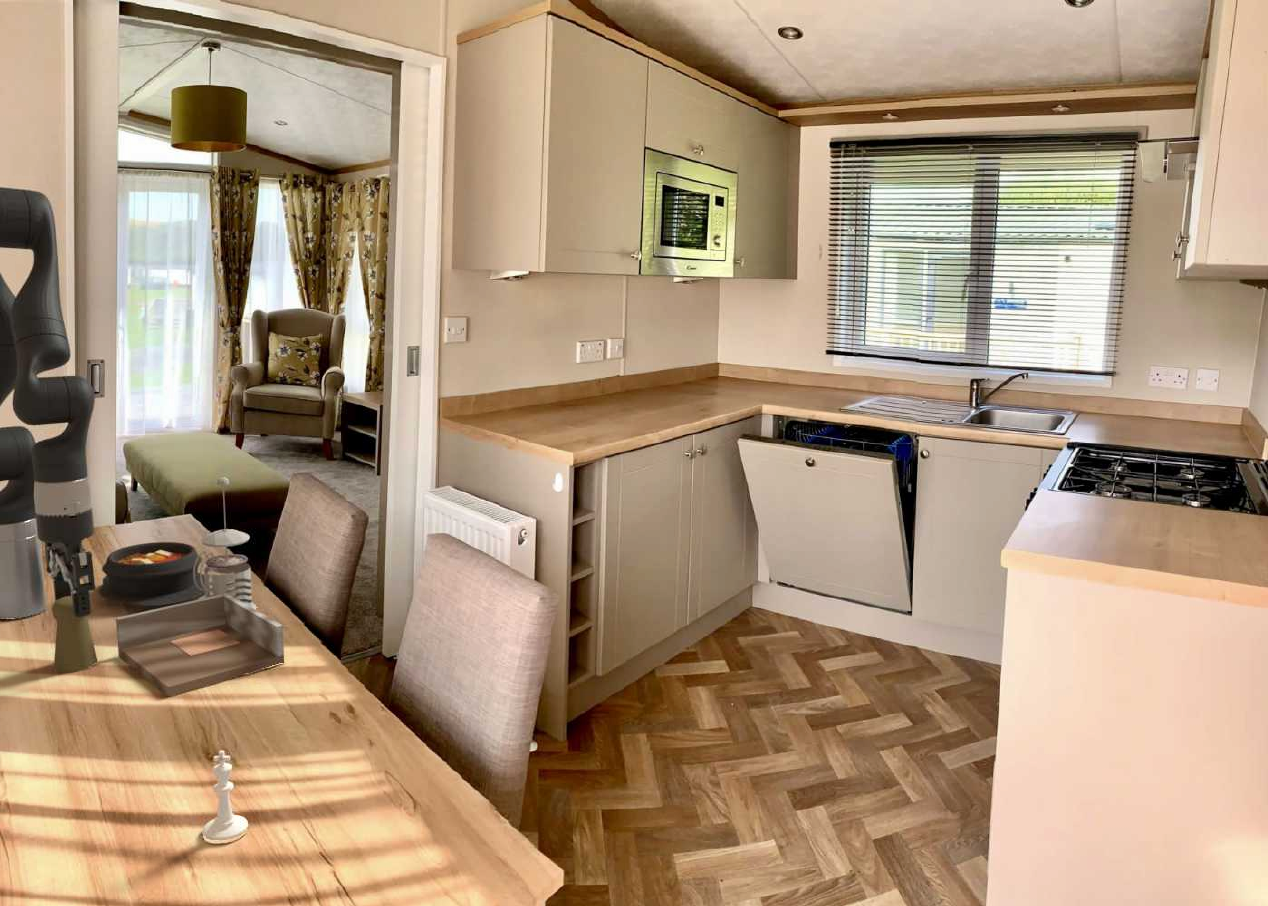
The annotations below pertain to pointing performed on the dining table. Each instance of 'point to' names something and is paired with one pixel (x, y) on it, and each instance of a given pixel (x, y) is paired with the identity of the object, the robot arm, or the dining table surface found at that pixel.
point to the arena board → (199, 643)
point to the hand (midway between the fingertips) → (73, 608)
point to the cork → (72, 639)
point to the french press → (226, 564)
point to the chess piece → (224, 805)
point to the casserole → (152, 575)
